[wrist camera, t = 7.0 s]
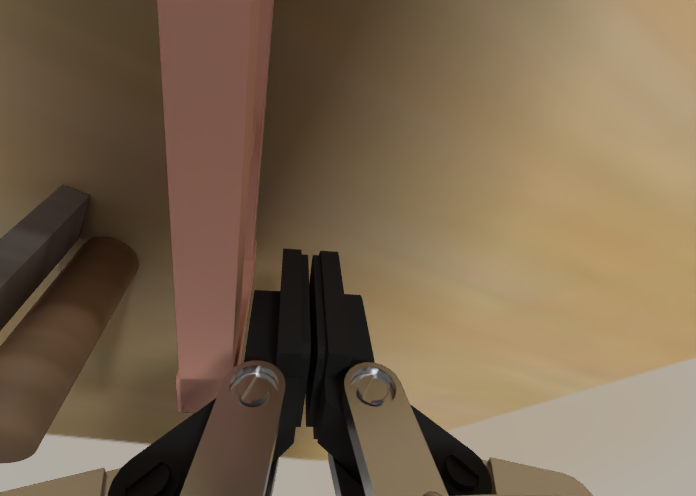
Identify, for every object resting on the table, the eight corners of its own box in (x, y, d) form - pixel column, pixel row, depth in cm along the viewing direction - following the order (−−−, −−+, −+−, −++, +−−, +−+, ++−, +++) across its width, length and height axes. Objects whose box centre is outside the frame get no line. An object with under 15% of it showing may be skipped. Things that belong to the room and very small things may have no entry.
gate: (226, -141, 10) (129, -304, 4) (287, -124, 11) (273, -254, 5) (218, 267, 18) (177, 412, 12) (254, 270, 18) (232, 413, 12)
